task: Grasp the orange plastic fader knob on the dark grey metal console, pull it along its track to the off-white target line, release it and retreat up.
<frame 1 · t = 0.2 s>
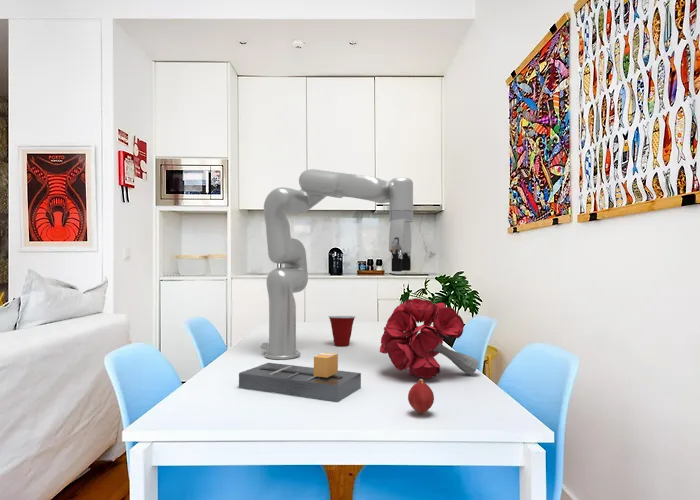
hand: (401, 271, 152), 31 cm above the table, tool pointing down, fingers open, 9 cm apart
plastic cup: (341, 345, 192), on the table
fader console: (299, 387, 130), on the table
onion: (420, 414, 108), on the table
bouquet: (428, 376, 144), on the table
fader knob: (325, 364, 127), point 7 cm above the table, slide at 8.0 cm
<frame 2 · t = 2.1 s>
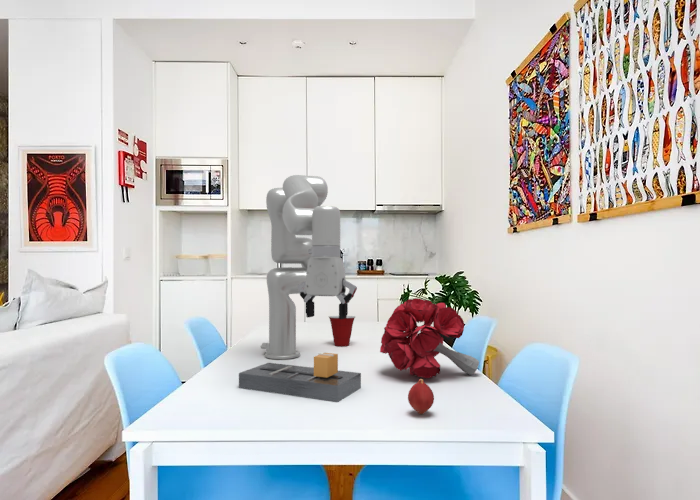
hand: (326, 317, 127), 19 cm above the table, tool pointing down, fingers open, 9 cm apart
nothing on the table moved.
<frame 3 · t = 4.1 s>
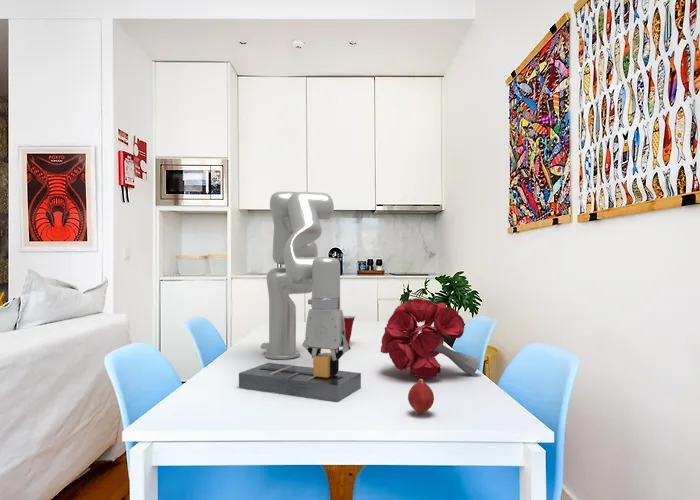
hand: (325, 373, 127), 5 cm above the table, tool pointing down, fingers closed on fader knob, 4 cm apart
fader knob: (325, 364, 127), point 7 cm above the table, slide at 8.0 cm, touching gripper
everything else where it was.
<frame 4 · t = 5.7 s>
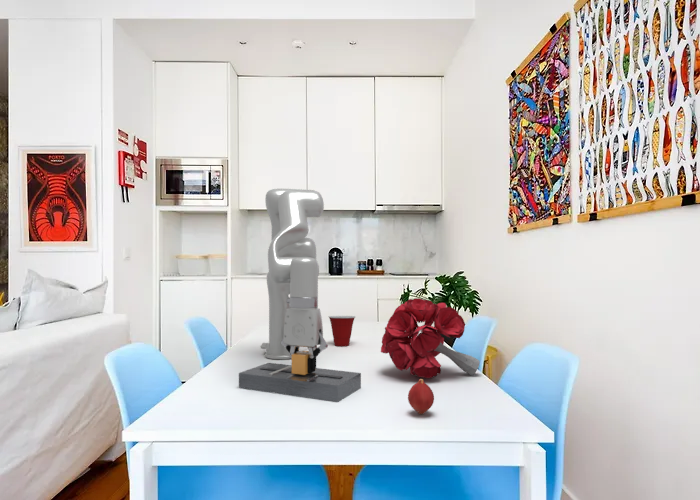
hand: (303, 370, 130), 5 cm above the table, tool pointing down, fingers closed on fader knob, 4 cm apart
fader knob: (303, 361, 130), point 7 cm above the table, slide at 1.2 cm, touching gripper
everything else where it was.
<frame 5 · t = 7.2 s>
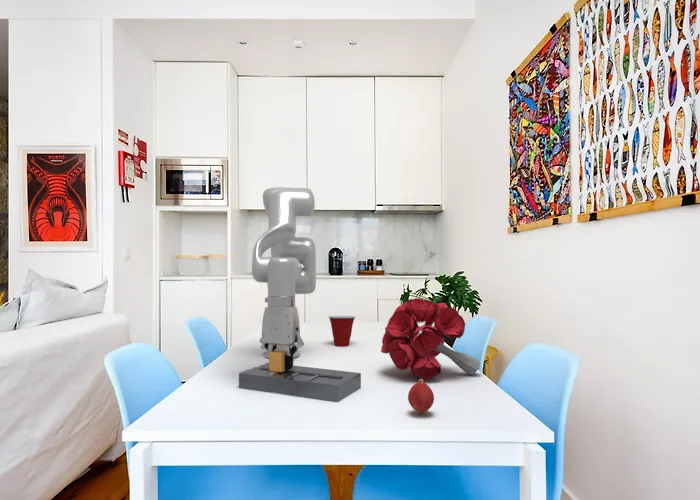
hand: (281, 367, 133), 5 cm above the table, tool pointing down, fingers closed on fader knob, 4 cm apart
fader knob: (281, 359, 133), point 7 cm above the table, slide at -6.0 cm, touching gripper
everything else where it was.
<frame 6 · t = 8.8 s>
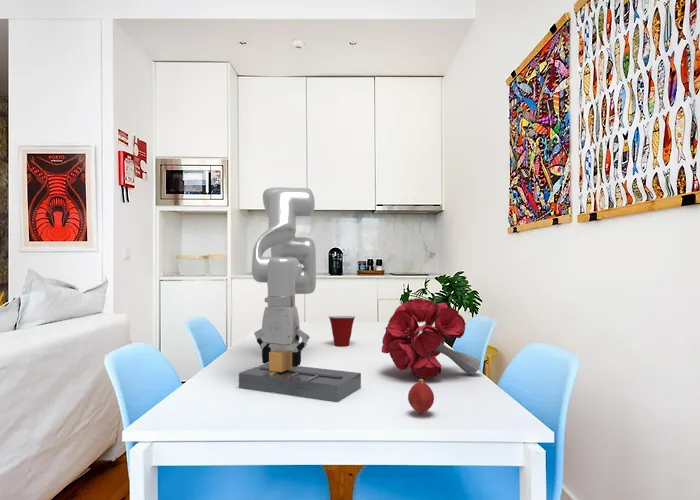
hand: (281, 364, 133), 6 cm above the table, tool pointing down, fingers open, 9 cm apart
fader knob: (281, 359, 133), point 7 cm above the table, slide at -6.0 cm
everything else where it was.
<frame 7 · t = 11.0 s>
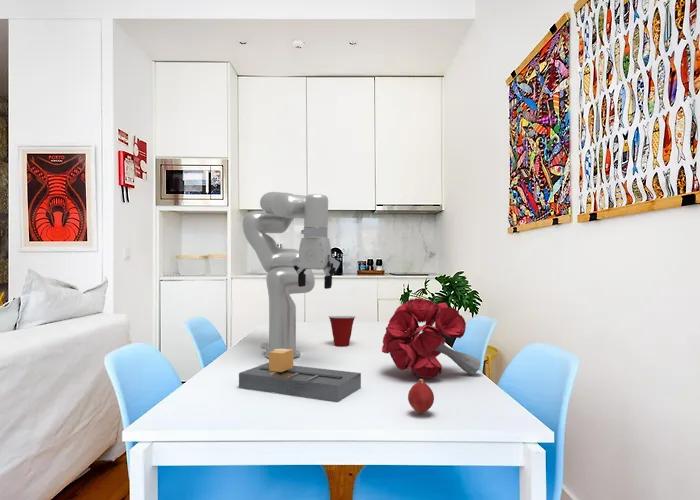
hand: (314, 287, 153), 26 cm above the table, tool pointing down, fingers open, 9 cm apart
nothing on the table moved.
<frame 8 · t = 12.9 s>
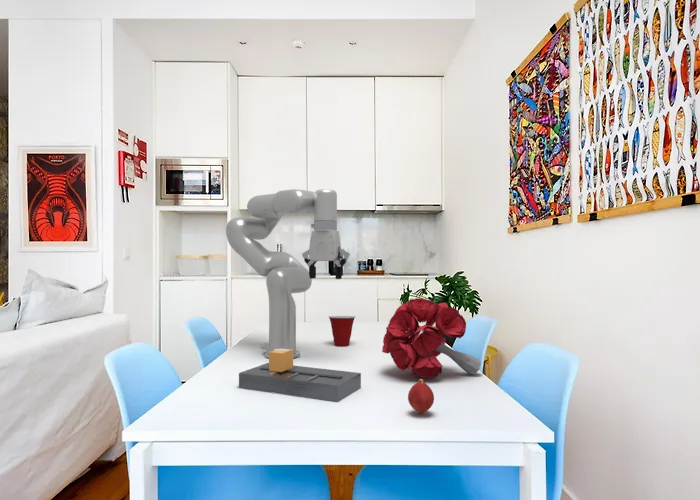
hand: (325, 278, 159), 28 cm above the table, tool pointing down, fingers open, 9 cm apart
nothing on the table moved.
at the end: fader knob slide at -6.0 cm; the gripper is holding nothing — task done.
